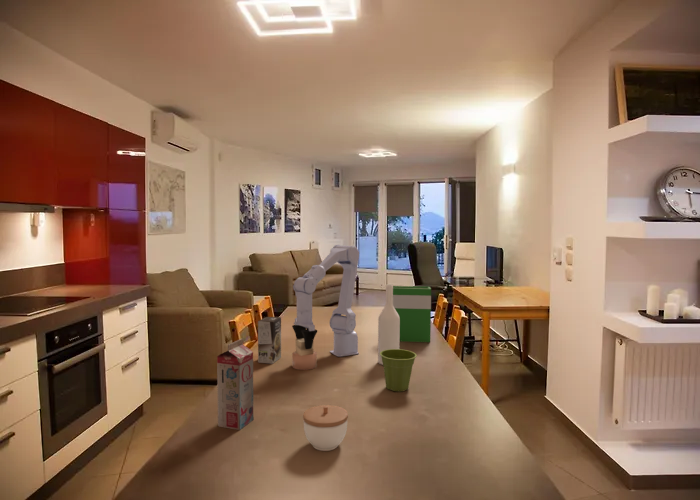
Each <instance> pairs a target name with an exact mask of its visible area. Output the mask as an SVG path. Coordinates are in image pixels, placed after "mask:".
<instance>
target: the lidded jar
mask: <svg viewBox="0 0 700 500" xmlns="http://www.w3.org/2000/svg"><path fill="white" fill-rule="evenodd" d="M348 418H349V412H348V411H347V410H346V409H345V408H343V407H341V406H338V405H331V404H321V405H315V406H312V407H309V408H307V409H306V410H304V412H303V415H302V419H303V431H304V435H305V438H306V439H307V441H308V442H309V443H310V444H311V446H312V447H313V448H314V449H315V450H317V451H321V452H329V451H333V450H336V449H337V448H338V447H339V445H340V444H341V443H342V442H343V441H344V439H345V437H346V434H347V430H348Z"/></svg>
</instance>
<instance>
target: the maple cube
mask: <svg viewBox="0 0 700 500" xmlns="http://www.w3.org/2000/svg"><path fill="white" fill-rule="evenodd" d="M295 351H296V353H297V354H299V355H300V356H303V355H310V354H313V351H314V343H313V344H312V348H311V349H306V348H305V342H304V338H302V339H296V338H295Z"/></svg>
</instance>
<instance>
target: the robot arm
mask: <svg viewBox="0 0 700 500" xmlns="http://www.w3.org/2000/svg"><path fill="white" fill-rule="evenodd" d="M359 257H360V251H359V249H358V247H357V246H355V245H344V244H343V245H340V244H335V245H334V246H333V247H332V248H330V251H329V253H328V255H327V256H326V257H325V258H324V259H323V260H322V261H321V262H320V263H319V264H313V265H312V266H311V268H310V269H309V270H308V271H307V272H306V273H304V274H303V276H299V277H298V278H296V279H295V280H294V283H293V285H292V288H293V291H294V292H295V297H296V318H294V321H293V325H292V326H291V327H292V329H293V331H294V333H295V340H296V339H302V338H304V342H305V348H306V349H311V348H312V344H313V345H314V340H315V337H316V335H317V333H318V330H317V329H316V325H315V324H314V322H313V293H314V292H315V291H316V289H317V286H318V285H319V283H320V282H321V281H322V279H324V278H325V277H326V272H327V271H328V270H329V269H330V268H332V267H333V266H335V264H337V263H338V265H340V266H341V267H342V269H343V272H342V278H341V284H340V291H339V297H338V298H339V299H338V304H337V305H338V306H337V307H336V308H335V309H333V310H332V314H331V317H330V318H329V327H330V328H331V330H332V332H333V350H329V353H331V354H333V355H334V356H336V357H346V356H352V355H353V356H354V355H358V354H359V346H358V344H359V337H358V333H357V332H356V331H355V329H356V326H357V323H356V313H355V312H354V310H352V304H353V299H354V298H353V297H354V292H355V285H356V279H357V271H358V265H359Z"/></svg>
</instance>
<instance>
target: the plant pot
mask: <svg viewBox="0 0 700 500" xmlns="http://www.w3.org/2000/svg"><path fill="white" fill-rule="evenodd" d="M380 356H381V357H382V362H383V365H382V367H383V373H384V380H385V387H386V389H387V390H391V391H393V392H405V391H406V390H409V386H410V381H411V377H412V370H413V367H414V366H413V365H414V363H415V360H416V358H417V356H418V355H417V353H416V352H414V351H411V350H407V349H401V348H399V349H388V350H383V351H381V352H380Z"/></svg>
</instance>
